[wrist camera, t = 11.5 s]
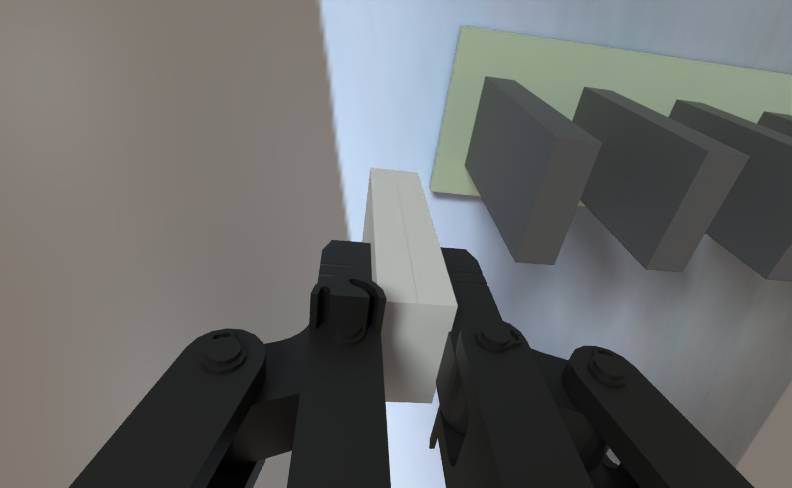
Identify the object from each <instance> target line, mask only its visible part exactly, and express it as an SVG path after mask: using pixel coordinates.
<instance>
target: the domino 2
mask: <svg viewBox="0 0 792 488" xmlns="http://www.w3.org/2000/svg"><path fill="white" fill-rule="evenodd" d="M572 122H574V123H575V124H577V125H578V126H579V127H581V128H582V129H584V130H585V131H586V132H588V133H589V134H591V135H592V136H593V137H595V138H596V139H598V140H599V141H601V142H602V145H601V148H600V150H599V153H598V155H597V158H596V160H595V163H594V165H593V168H592V170H591V173H590V175H589V178H588V180H587V183H586V186H585V188H584V191H583V193H582V196H581V198H580V201H581V202H582V203H583V204H584V205H585V206H586V207H587V208H588V209H589V210H590V211H591V212H592V213H593V214H594V215H595V216H596V217H597V219H598V220H599V221H600V222H601V223H602V224H603V225H604V226H605V227H606V228H607V229H608V230H609V231H610V232H611V233H612V234H613V235H614V236H615V237H616V238H617V240H618V241H619V242H620V243H621V244H622V245H623V246H624V247H625V248H626V249H627V250H628V251H629V252H630V253H631V254H632V255H633V256H634V257H635V258H636V260H637V261H638V262H639V263H640V264H641V265H642V266H643V267H644V268H645V269H647V270H659V271H671V272H682V271H683V269H684V268H685V266H686V264H687V263H688V261H689V259H690V258H691V256H692V254H693V252H694V251H695V249H696V247H697V246H698V244H699V242H700V241H701V239H702V237H703V235H704V234H705V232H706V230H707V229H708V227H709V225H710V224H711V222H712V220H713V218H714V217H715V215H716V213H717V212H718V210H719V208H720V207H721V205H722V203H723V201H724V200H725V198H726V196H727V195H728V193H729V191H730V190H731V188H732V186H733V184H734V183H735V181H736V179H737V178H738V176H739V174H740V173H741V171H742V169H743V167H744V166H745V164H746V162H747V161H748V159H749V157H750V156H748V155H746V154H744V153H742V152H740V151H738V150H736V149H734V148H732V147H730V146H727V145H725V144H723V143H721V142H719V141H717V140H715V139H713V138H711V137H709V136H706V135H704V134H702V133H700V132H698V131H696V130H694V129H692V128H690V127H688V126H685V125H683V124H681V123H679V122H677V121H675V120H673V119H671V118H669V117H667V116H664V115H662V114H660V113H658V112H656V111H654V110H652V109H650V108H648V107H646V106H643V105H641V104H639V103H637V102H635V101H633V100H631V99H629V98H627V97H624V96H622V95H620V94H618V93H616V92H614V91H612V90H605V89H598V88H591V87H584V88H583V91H582V94H581V97H580V100H579V103H578V105H577V108H576V111H575V114H574V117H573V120H572Z"/></svg>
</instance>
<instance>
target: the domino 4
mask: <svg viewBox="0 0 792 488" xmlns="http://www.w3.org/2000/svg"><path fill="white" fill-rule="evenodd" d="M757 124H759V125H761V126H764V127H767V128H769V129H772V130H774V131H777V132H780V133H782V134H785V135H787V136H790V137H792V116H791V115H788V114H780V113H773V112H766V111H764V112H763V114H762V116H761V117H760V119H759V121H758V123H757Z"/></svg>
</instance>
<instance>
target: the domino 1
mask: <svg viewBox="0 0 792 488" xmlns="http://www.w3.org/2000/svg"><path fill="white" fill-rule="evenodd" d="M601 145H602V142H601V141H599V140H598V139H596V138H595V137H593V136H592V135H591V134H589V133H588V132H586V131H585V130H584V129H582V128H581V127H579V126H578V125H577V124H575V123H574V122H572V121H571V120H570V119H568V118H567V117H565V116H564V115H563V114H561V113H560V112H558V111H557V110H556V109H554V108H553V107H551V106H550V105H549V104H547V103H546V102H544V101H543V100H542V99H540V98H539V97H537V96H536V95H535V94H533V93H532V92H530V91H529V90H528V89H526V88H525V87H523V86H522V85H521V84H519V83H518V82H516V81H515V80H510V79H503V78H495V77H488V76H485V80H484V84H483V88H482V93H481V97H480V101H479V106H478V110H477V114H476V119H475V123H474V127H473V131H472V136H471V140H470V144H469V149H468V153H467V157H466V162H465V167H466V169H467V171H468V173H469V175H470V177H471V179H472V181H473V182H474V184H475V186H476V188H477V190H478V192H479V194H480V196H481V198H482V200H483V202H484V203H485V205H486V207H487V209H488V211H489V213H490V215H491V217H492V219H493V221H494V222H495V224H496V226H497V228H498V230H499V232H500V234H501V236H502V238H503V240H504V242H505V243H506V245H507V247H508V249H509V251H510V253H511V255H512V257H513V259H514V261H515V262H521V263H534V264H546V265H554V264H555V261H556V259H557V256H558V254H559V251H560V249H561V246H562V244H563V241H564V238H565V236H566V233H567V231H568V228H569V226H570V223H571V221H572V218H573V216H574V213H575V211H576V208H577V206H578V203H579V201H580V198H581V196H582V193H583V191H584V188H585V186H586V183H587V180H588V178H589V175H590V173H591V170H592V168H593V165H594V163H595V160H596V158H597V155H598V153H599V150H600V148H601Z"/></svg>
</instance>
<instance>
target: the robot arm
mask: <svg viewBox="0 0 792 488" xmlns="http://www.w3.org/2000/svg"><path fill="white" fill-rule="evenodd" d="M482 274H483V273H482V270H481V268H480V266H479V263H478V261H477V260H476V259H475V258H474V257H473V256H472V255H471V254H470V253H469V252H468V251H467V250H466V249H455V248H442V247H440V245H439V242H438V238H437V235H436V232H435V228H434V225H433V222H432V218H431V215H430V212H429V208H428V205H427V202H426V198H425V195H424V192H423V188H422V185H421V182H420V178H419V175H418V173H415V172H406V171H396V170H386V169H377V168H371V169H370V178H369V186H368V195H367V204H366V213H365V222H364V231H363V240H362V242H351V241H338V240H332V241H331V242H330V243H329V244H328V245H327V246H326V247H325V248H324V249H323V250H322V256H321V263H320V270H319V277H318V283H317V284H316V285H315V286H314V288H313V290H312V292H311V299H310V321H309V325H308V326H307V328H305V329H304V330H303V331H302V332H300V333H299V334H297V335H295V336H293V337H291V338H288V339H285V340H281V341H277V342H272V343H267V344H263V342H262V341H261V340H260V339H259V338H258V337H257V336H256V335H255V334H252V333H249V332H247V331H245V330H240V329H222V330H217V331H212V332H210V333H207V334H205V335H203V336H200V337H198V338H197V339H195V340H194V341H193V342H192V343H191V344H190V345H188V346H187V347H186V348H185V349H184V351H183V352H182V353H181V354H180V355H179V357H178V358H177V359H176V360H175V361H174V362H173V364H172V365H171V366H170V368H168V370H167V371H166V372H165V373H164V374H163V376H162V377H161V378H160V379H159V381H158V382H157V383H156V384H155V385H154V386H153V388H152V389H151V390H150V391H149V392H148V394H147V395H146V396H145V397H144V398H143V400H142V401H141V402H140V403H139V404H138V405H137V407H136V408H135V409H134V410H133V411H132V413H131V414H130V415H129V416H128V417H127V419H126V420H125V421H124V422H123V423H122V425H121V426H120V427H119V428H118V429H117V431H116V432H115V433H114V434H113V435H112V436H111V438H110V439H109V440H108V441H107V443H106V444H105V445H104V446H103V447H102V449H101V450H100V451H99V452H98V453H97V454H96V456H95V457H94V458H93V459H92V460H91V462H90V463H89V464H88V465H87V466H86V468H85V469H84V470H83V471H82V472H81V473H80V475H79V476H78V477H77V478H76V480H75V481H74V482H73V483H72V484H71V485H70V487H69V488H253V486H254V484H255V482H256V480H257V478H258V476H259V473H260V471H261V469H262V467H263V465H264V463H265V460H266V458H269V457H272V456H275V455H279V454H282V453H285V452H289V451H292V455H291V462H290V469H289V477H288V484H287V488H391V482H390V466H389V451H388V435H387V419H386V404H385V402H412V403H432V401H433V397H434V393H435V389H436V387H437V392H438V397H439V403H440V405H439V408H438V412H437V416H436V419H435V423H434V426H433V430H432V433H431V437H430V446H429V449H434V448H435V445H436V442H437V438H438V442H439V448H440V454H441V460H442V466H443V472H444V478H445V484H446V488H754V487H753V486H752V485H751V484H750V483H749V482H748V481H747V480H746V479H745V478H744V477H743V476H742V475H741V474H740V473H739V472H738V471H737V470H736V469H735V468H734V467H733V466H732V465H731V464H730V463H729V462H728V461H727V460H726V459H725V458H724V456H723V455H722V454H721V453H720V452H719V451H718V450H717V449H716V448H715V447H714V446H713V445H712V444H711V443H710V442H709V441H708V440H707V439H706V438H705V437H704V436H703V435H702V434H701V433H700V432H699V431H698V430H697V429H696V428H695V427H694V426H693V425H692V424H691V423H690V422H689V421H688V420H687V419H686V418H685V417H684V416H683V415H682V414H681V413H680V412H679V411H678V410H677V409H676V408H675V407H674V406H673V405H672V404H671V403H670V402H669V401H668V400H667V399H666V398H665V397H664V396H663V395H662V394H661V393H660V392H659V391H658V390H657V389H656V388H655V387H654V386H653V385H652V384H651V383H650V382H649V381H648V380H647V379H646V378H645V377H644V375H643V374H642V373H641V372H640V371H639V370H638V369H637V368H636V367H635V366H633V365H632V364H631V363H630V362H628V361H627V360H626V359H625V358H624V357H622V356H620V355H618V354H616V353H614V352H612V351H610V350H608V349H604V348H601V347H597V346H582V347H580V348H577V349H575V350H574V352H573V354H572V355H571V357H570V359H569V360H566V359H562V358H559V357H555V356H552V355H548V354H545V353H542V352H539V351H536V350H534V349H531V348H530V347H529V345H528V342H527V340H526V339H525V338H524V336H523V335H522V333H521V332H520V331H519V330H517V329H516V328H515V327H513V326H512V325H511V324H509V323H507V322H504V321H502V318H501V316H500V313H499V311H498V309H497V306H496V304H495V301H494V299H493V297H492V294H491V292H490V289H489V287H488V286H487V282H486V280H485V278H484V276H483V275H482ZM609 448H610V449H611V450H612V451H613V453H614V454H615V455H616V457H617V458H618V459H619V461H620V462H621V463H620V465H619V466H618V465H617V464H615V463H613V462H612V461H611V460H610V459H609V458H608V456H607V455H606V453H607V451H608V450H609Z"/></svg>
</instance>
